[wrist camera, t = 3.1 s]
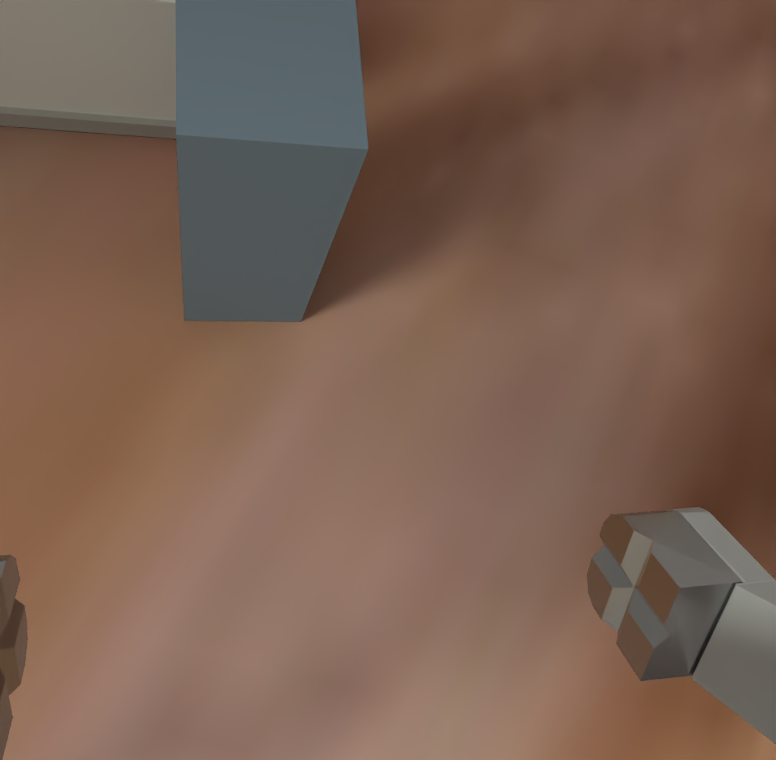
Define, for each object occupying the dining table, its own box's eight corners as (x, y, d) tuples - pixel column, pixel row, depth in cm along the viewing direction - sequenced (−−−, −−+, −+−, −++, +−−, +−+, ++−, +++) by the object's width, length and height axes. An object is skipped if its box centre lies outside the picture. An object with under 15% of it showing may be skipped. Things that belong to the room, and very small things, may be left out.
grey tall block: (184, 320, 27) (176, 134, 16) (183, 214, 28) (175, -27, 17) (300, 321, 28) (368, 149, 17) (295, 220, 30) (355, -2, 18)
